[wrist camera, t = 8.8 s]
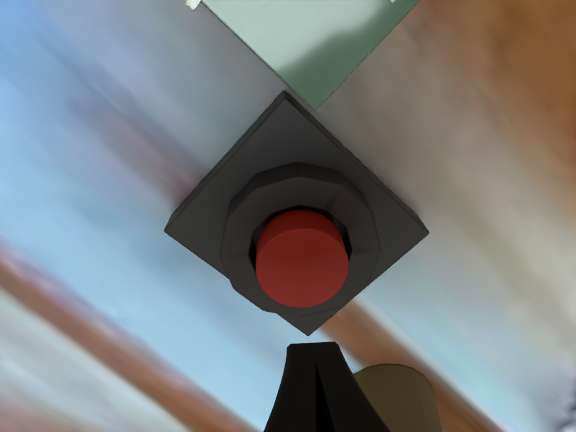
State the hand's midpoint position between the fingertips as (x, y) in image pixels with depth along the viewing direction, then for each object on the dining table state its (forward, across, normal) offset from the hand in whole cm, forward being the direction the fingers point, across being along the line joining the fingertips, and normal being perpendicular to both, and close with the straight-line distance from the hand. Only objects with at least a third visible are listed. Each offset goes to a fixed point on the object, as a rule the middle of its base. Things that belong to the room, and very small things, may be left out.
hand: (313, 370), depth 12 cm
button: (+7, 0, 0) cm, 7 cm away
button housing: (+10, 0, 0) cm, 10 cm away
